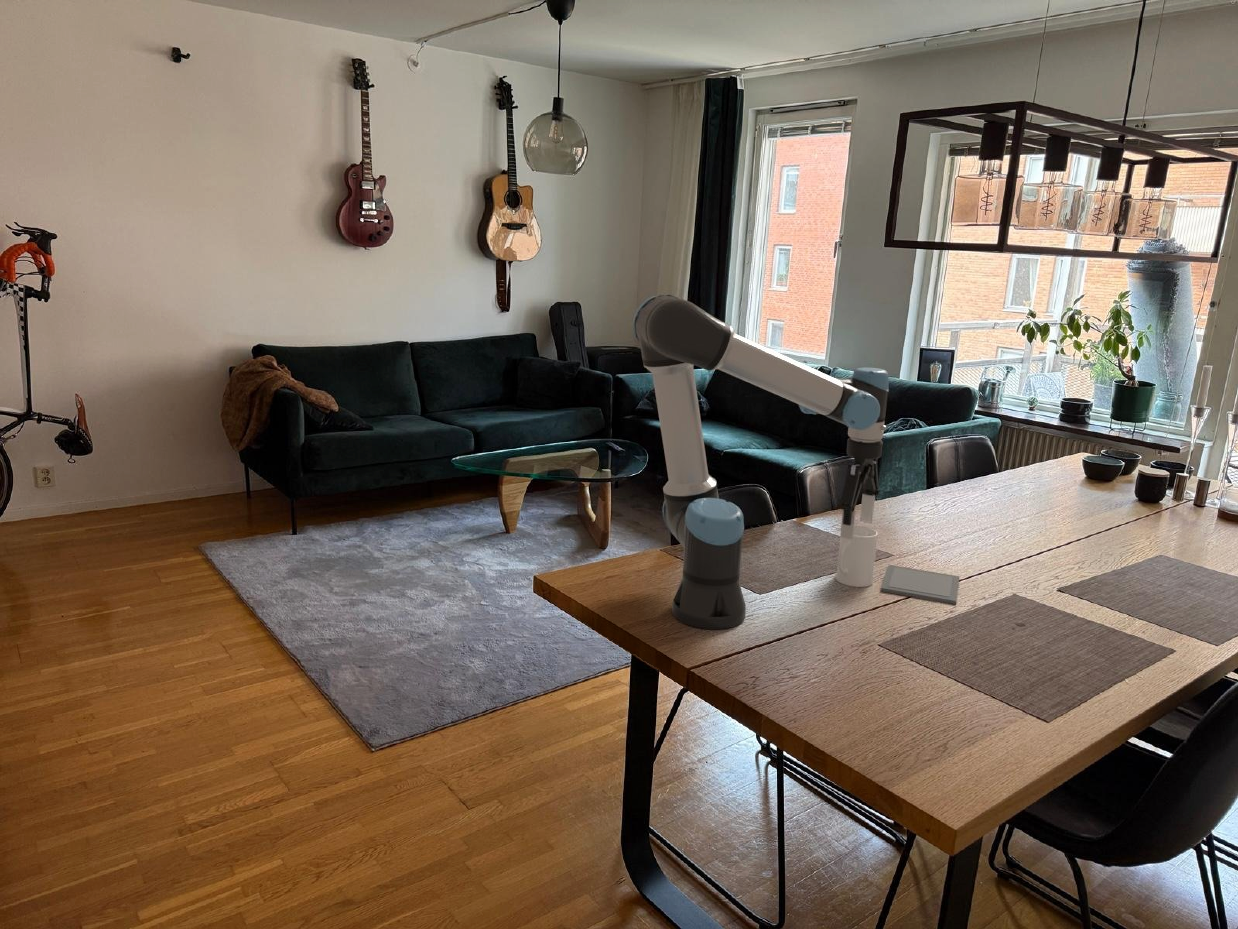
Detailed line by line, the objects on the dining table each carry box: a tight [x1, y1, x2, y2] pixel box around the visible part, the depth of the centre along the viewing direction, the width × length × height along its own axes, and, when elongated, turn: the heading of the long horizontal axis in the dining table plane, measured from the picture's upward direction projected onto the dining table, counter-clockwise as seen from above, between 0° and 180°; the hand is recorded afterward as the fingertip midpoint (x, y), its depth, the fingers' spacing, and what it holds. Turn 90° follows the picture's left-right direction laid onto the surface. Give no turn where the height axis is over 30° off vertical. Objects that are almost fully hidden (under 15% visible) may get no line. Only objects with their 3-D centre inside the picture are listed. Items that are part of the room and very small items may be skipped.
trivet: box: [880, 564, 960, 605], centre depth 203 cm, size 16×16×1 cm
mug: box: [834, 525, 878, 588], centre depth 202 cm, size 12×8×12 cm
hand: (856, 529), depth 201 cm, fingers open, 13 cm apart
